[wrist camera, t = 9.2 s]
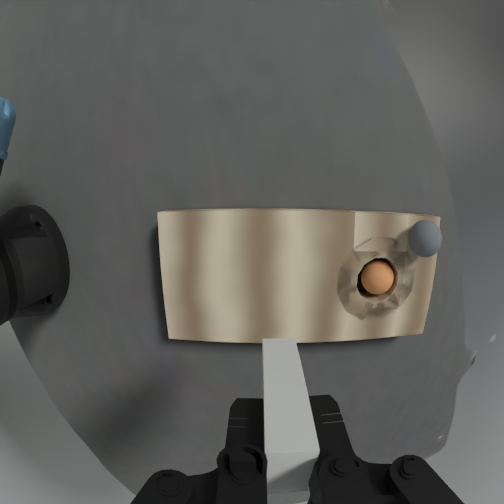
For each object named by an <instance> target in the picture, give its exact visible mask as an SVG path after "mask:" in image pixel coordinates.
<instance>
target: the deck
mask: <svg viewBox="0 0 504 504" xmlns="http://www.w3.org/2000/svg"><path fill="white" fill-rule="evenodd" d="M421 220H429V221H432V222H434V223H435V224H436V225H437V226H438V227H440V217H436V216H431V215H424V214H410V213H395V212H377V211H355V210H326V209H189V210H167V211H161V212H158V233H159V249H160V263H161V275H162V285H163V295H164V304H165V312H166V320H167V328H168V335H169V339H181V340H195V341H212V342H236V343H263V339H283V338H295V340H296V343H309V342H333V341H350V340H363V339H375V338H385V337H395V336H403V335H412V334H419V333H423V329H424V325H425V321H426V316H427V312H428V307H429V302H430V297H431V291H432V285H433V279H434V273H435V266H436V258H437V253H436V254H434V255H433V256H431V257H420V256H418V255H416V254H415V253H414V252H413V251H412V249H411V248H410V246H409V242H408V235H409V231H410V229H411V227H412V226H413V225H414V224H415V223H416V222H418V221H421ZM374 258H383V259H384V261H385V262H386V263H387V264H388V265H389V266H390V267H391V268H392V270H393V274H394V280H393V283H392V286H391V287H390V289H389V290H388V291H386V292H385V293H382V294H372V293H370V292H360V291H358V289H357V279H358V274H359V272H360V271H361V269H362V268H363V266H364V265H365V264H366V263H368V262H369V261H371V260H373V259H374Z"/></svg>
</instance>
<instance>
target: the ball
mask: <svg viewBox="0 0 504 504" xmlns="http://www.w3.org/2000/svg"><path fill="white" fill-rule="evenodd" d="M393 280H394V274H393V270H392V268H391V267H390V266H389V265H388V264H387V263H386V262H384V261H381V260H374V261H371V262H369V263H368V264H367V265H366V266H365V267H364V269H363V271H362V274H361V282H362V285H363V287H364V288H365V289H366V290H367V291H368V292H370V293H372V294H382V293H385V292H386V291H388V290H389V289H390V287H391V286H392V283H393Z"/></svg>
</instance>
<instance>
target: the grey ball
mask: <svg viewBox="0 0 504 504" xmlns="http://www.w3.org/2000/svg"><path fill="white" fill-rule="evenodd" d="M408 242H409V246H410V248H411V249H412V251H413V252H414V253H415V254H416V255H418V256H420V257H431V256H433V255H434V254H436V253H437V252H438V250H439V249H440V247H441V244H442V234H441V231H440V229H439V227H438V226H437V225H436V224H435V223H434V222H432V221H429V220H421V221H418V222H416V223H415V224H414V225H413V226H412V227H411V229H410V231H409V235H408Z"/></svg>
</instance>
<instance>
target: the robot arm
mask: <svg viewBox="0 0 504 504" xmlns="http://www.w3.org/2000/svg"><path fill="white" fill-rule="evenodd" d="M15 120H16V111H15V108H14V106H13V104H12V103H11V102H10V101H8V100H6V99H4V98H2V97H0V175H1V171H2V167H3V163H4V160H6V159H7V156H8V152H7V150H8V146H9V142H10V138H11V135H12V131H13V128H14V125H15ZM68 284H69V260H68V254H67V249H66V246H65V242H64V239H63V237H62V234H61V232H60V230H59V228H58V226H57V224H56V223H55V221H54V220H53V218H52V217H51V216H50V215H49V214H48V213H47V212H46V211H45V210H44V209H42V208H40V207H38V206H35V205H26V206H19V207H16V208H13V209H11V210H10V211H8V212H7V213H5V214H4V215H3V216H1V217H0V325H2V324H3V323H5V322H6V321H8V320H10V319H11V318H14V317H24V316H34V315H42V314H45V313H47V312H49V311H51V310H52V309H54V308H55V307H57V306H58V305H59V304H60V303H61V302H62V301H63V299H64V297H65V295H66V292H67V289H68ZM217 464H218V468H216V469H215V470H213V471H211V472H209V473H205V474H200V475H193V476H187V475H185V474H183V473H182V472H180V471H176V470H171V469H170V470H161V471H159V472H156V473H154V474H153V475H152V476H151V477H150V478H149V479H148V480H147V482H146V483H145V484H144V486H143V487H142V489H141V490H140V491H139V493H138V494H137V495H136V497H135V498H134V500H133V501H132V502H131V504H267V493H286V492H300V491H307V490H308V487H309V490H310V498H309V501H308V503H307V504H464V503H463V502H462V501H461V500H460V499H459V498H458V496H457V495H456V494H455V493H454V492H453V491H452V490H451V489H450V488H449V487H448V485H447V484H445V482H444V481H443V480H442V479H441V478H440V477H439V476H438V474H436V472H435V471H434V470H433V469H432V468H431V467H430V466H429V465H428V464H427V462H426V461H425V460H423V459H422V458H421V457H418V456H415V455H405V456H402V457H399V458H397V459H396V460H395V461H394V462H393V463H392V464H375V463H368V462H366V461H363V460H361V458H359V457H358V456H356V455H355V453H354V451H353V449H352V446H351V443H350V440H349V437H348V434H347V431H346V428H345V425H344V422H343V418H342V415H341V414H340V409H339V406H338V403H337V402H336V401H335V400H334V399H333V398H332V397H331V396H330V395H318V396H308V392H307V388H306V383H305V379H304V374H303V370H302V366H301V361H300V357H299V353H298V348H297V344H296V340H295V338H283V339H263V346H262V399H253V398H237V399H236V400H235V401H234V403H233V404H232V405H231V407H230V413H229V421H228V429H227V437H226V445H225V448H224V449H223V450H222V451H221V452H220V453H219V455H218V457H217Z"/></svg>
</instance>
